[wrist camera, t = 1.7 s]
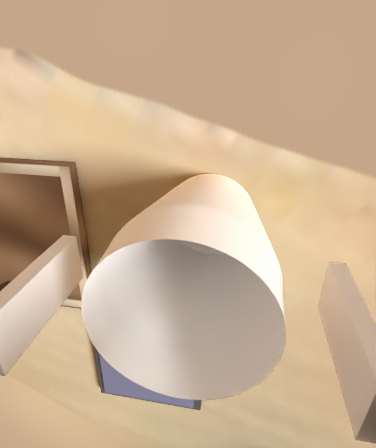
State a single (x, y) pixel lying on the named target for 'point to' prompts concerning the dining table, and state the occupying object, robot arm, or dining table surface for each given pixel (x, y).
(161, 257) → the cup
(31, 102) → the dining table surface
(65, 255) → the robot arm
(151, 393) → the ink pad
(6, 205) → the marked board
